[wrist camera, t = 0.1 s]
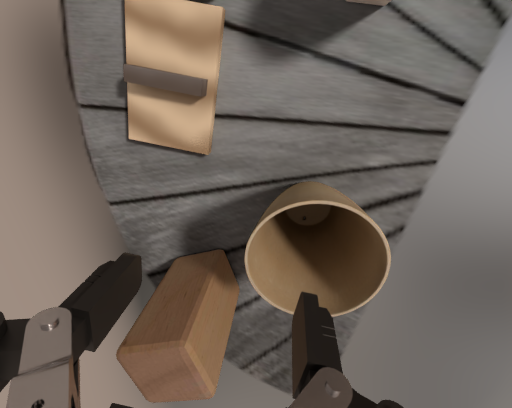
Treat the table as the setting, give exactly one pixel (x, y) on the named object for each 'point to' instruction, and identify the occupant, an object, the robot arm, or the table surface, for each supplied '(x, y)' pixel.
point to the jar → (372, 2)
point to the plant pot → (317, 251)
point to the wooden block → (183, 330)
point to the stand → (172, 71)
